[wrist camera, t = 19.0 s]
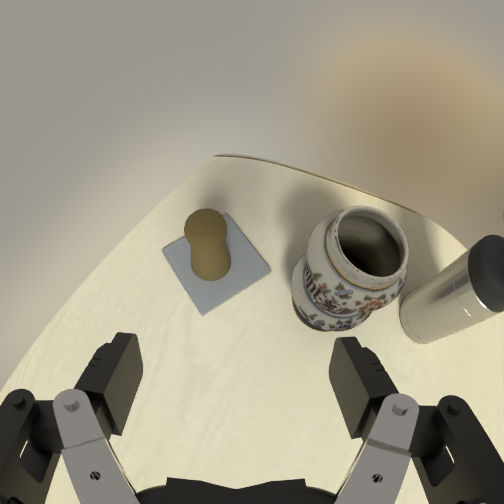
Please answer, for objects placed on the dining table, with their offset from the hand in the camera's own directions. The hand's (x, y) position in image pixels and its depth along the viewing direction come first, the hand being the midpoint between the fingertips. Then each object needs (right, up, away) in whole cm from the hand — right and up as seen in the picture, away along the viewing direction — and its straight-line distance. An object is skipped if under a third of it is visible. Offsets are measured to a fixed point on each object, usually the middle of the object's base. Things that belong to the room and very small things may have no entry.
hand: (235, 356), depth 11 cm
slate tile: (-5, +3, +33) cm, 34 cm away
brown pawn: (-5, +3, +32) cm, 33 cm away
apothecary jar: (+11, -3, +32) cm, 34 cm away
